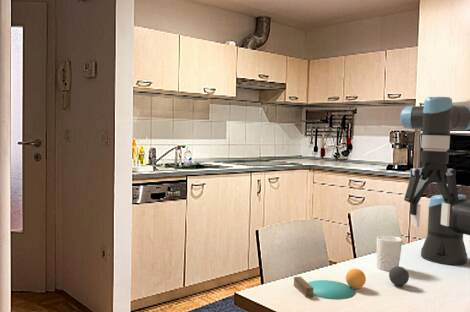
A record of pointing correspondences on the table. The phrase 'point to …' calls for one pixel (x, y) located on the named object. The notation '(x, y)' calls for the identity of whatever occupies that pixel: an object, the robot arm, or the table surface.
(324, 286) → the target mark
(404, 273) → the dark grey sphere
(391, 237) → the white cup
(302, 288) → the wall
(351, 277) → the object ball
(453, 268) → the table surface
